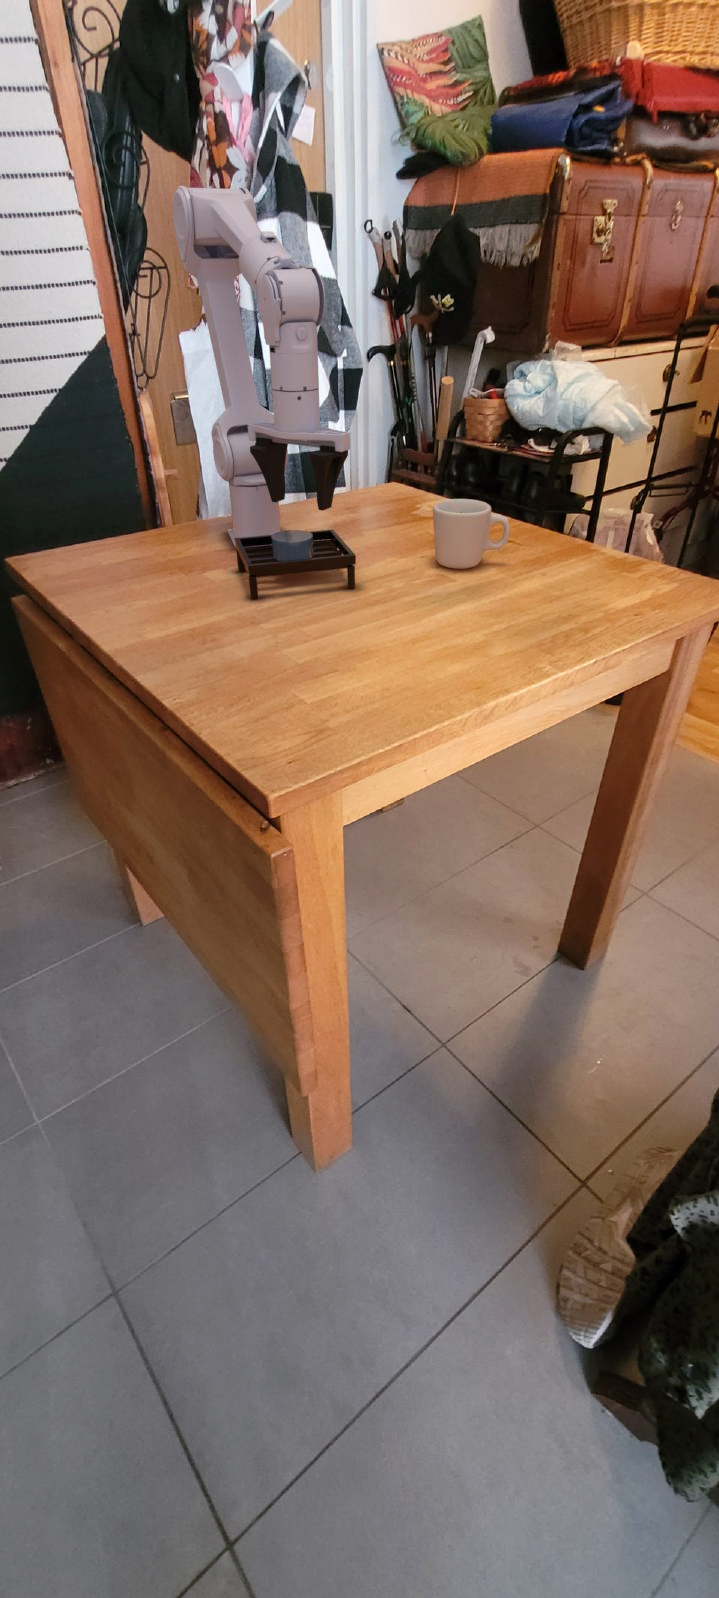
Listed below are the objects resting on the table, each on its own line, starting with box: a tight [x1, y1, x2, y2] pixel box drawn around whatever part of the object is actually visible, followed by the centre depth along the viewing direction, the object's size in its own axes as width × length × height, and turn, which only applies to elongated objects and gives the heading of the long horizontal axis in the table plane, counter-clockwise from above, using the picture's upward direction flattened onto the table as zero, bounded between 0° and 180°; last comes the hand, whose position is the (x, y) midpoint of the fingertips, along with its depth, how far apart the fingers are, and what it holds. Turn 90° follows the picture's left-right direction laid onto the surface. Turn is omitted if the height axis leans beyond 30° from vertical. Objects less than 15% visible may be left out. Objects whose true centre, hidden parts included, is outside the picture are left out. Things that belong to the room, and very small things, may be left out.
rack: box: [234, 529, 357, 601], centre depth 104 cm, size 12×14×4 cm
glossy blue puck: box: [271, 529, 314, 561], centre depth 102 cm, size 6×6×3 cm
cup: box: [432, 498, 511, 570], centre depth 107 cm, size 11×8×8 cm
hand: (301, 504), depth 101 cm, fingers open, 7 cm apart
